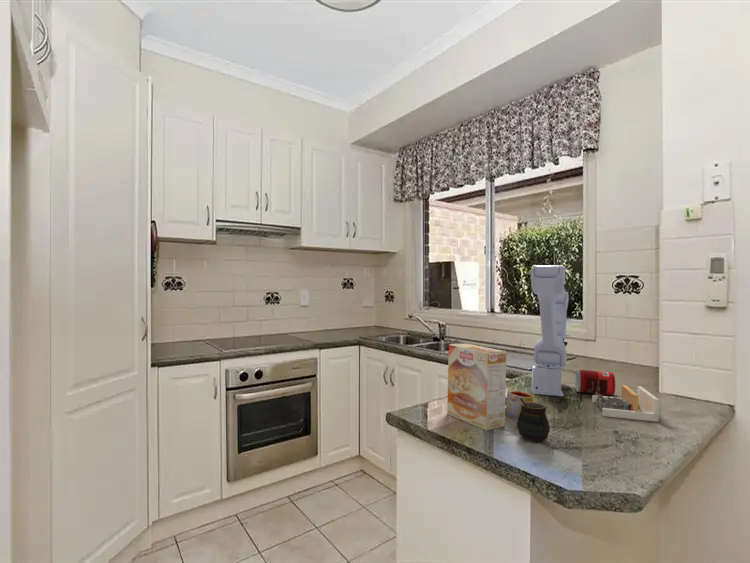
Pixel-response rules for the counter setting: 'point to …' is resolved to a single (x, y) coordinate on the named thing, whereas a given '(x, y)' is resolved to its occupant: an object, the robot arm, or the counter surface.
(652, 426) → the counter surface
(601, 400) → the egg carton
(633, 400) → the pusher plate
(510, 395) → the mug
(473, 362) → the coffeecake box
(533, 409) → the mate gourd
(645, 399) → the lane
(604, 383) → the canned food
